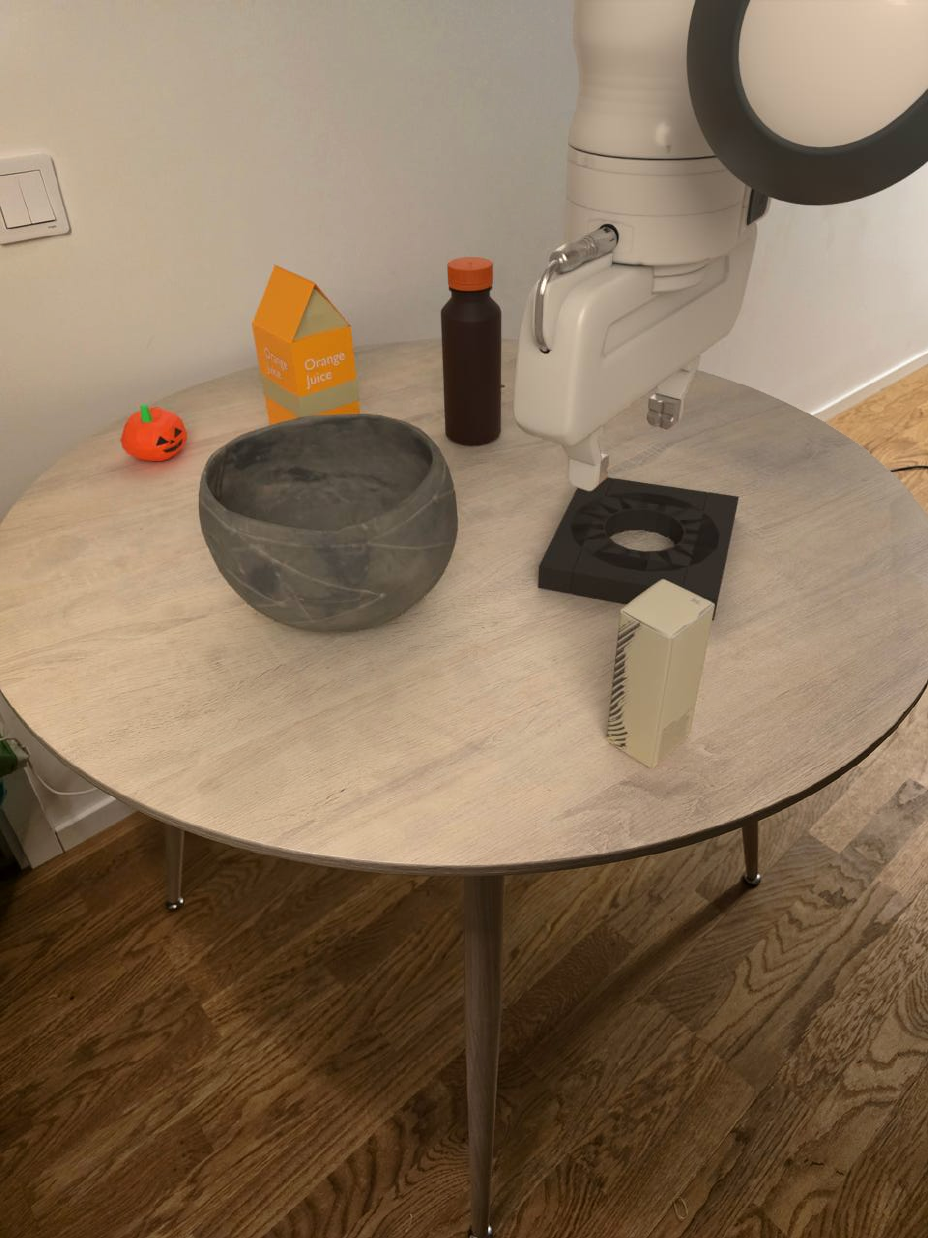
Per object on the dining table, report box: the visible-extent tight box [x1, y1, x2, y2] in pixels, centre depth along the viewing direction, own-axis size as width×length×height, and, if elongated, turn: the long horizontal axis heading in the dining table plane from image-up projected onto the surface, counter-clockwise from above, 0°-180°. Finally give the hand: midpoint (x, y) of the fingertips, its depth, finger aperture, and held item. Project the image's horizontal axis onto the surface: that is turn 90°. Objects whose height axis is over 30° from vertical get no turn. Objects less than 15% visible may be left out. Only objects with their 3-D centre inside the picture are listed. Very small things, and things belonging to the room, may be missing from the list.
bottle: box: [440, 256, 502, 447], centre depth 99 cm, size 7×7×20 cm
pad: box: [537, 476, 740, 622], centre depth 84 cm, size 16×18×2 cm
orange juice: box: [251, 264, 361, 426], centre depth 98 cm, size 8×9×20 cm
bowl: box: [198, 413, 459, 633], centre depth 74 cm, size 21×21×15 cm
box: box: [605, 579, 715, 769], centre depth 61 cm, size 5×4×13 cm
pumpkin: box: [120, 403, 188, 462], centre depth 101 cm, size 7×8×6 cm
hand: (627, 451), depth 52 cm, fingers open, 8 cm apart
